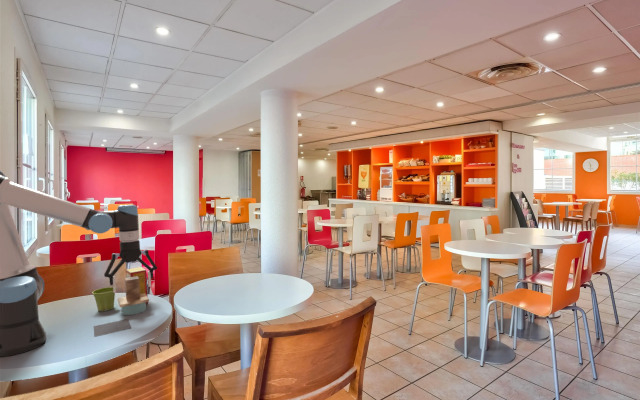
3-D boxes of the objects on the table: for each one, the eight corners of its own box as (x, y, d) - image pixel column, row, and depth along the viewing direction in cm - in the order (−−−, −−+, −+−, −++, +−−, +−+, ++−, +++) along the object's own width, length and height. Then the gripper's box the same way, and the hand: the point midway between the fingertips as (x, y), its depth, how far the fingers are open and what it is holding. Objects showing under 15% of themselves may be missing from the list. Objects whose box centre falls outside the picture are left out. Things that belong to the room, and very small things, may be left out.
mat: (94, 338, 129) (94, 336, 129) (93, 327, 139) (93, 326, 139) (131, 329, 135) (131, 328, 135) (128, 320, 145) (128, 318, 145)
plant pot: (109, 312, 155) (108, 293, 154) (88, 313, 155) (87, 293, 155) (122, 305, 164) (120, 286, 164) (102, 305, 164) (100, 287, 164)
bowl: (123, 317, 148) (122, 306, 148) (121, 311, 156) (120, 300, 155) (147, 312, 153) (146, 301, 153) (144, 307, 161) (143, 296, 160)
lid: (119, 307, 146) (118, 283, 146) (117, 300, 156) (116, 277, 155) (149, 301, 152) (147, 278, 152) (145, 295, 162) (144, 273, 161)
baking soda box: (127, 301, 169) (125, 268, 168) (142, 298, 173) (140, 266, 173) (132, 306, 162) (130, 272, 161) (148, 303, 166) (146, 269, 165)
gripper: (95, 245, 143) (99, 297, 144) (162, 238, 156) (165, 285, 158) (95, 243, 149) (98, 292, 150) (159, 236, 163) (162, 281, 164)
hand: (132, 289), depth 154 cm, fingers open, 13 cm apart
